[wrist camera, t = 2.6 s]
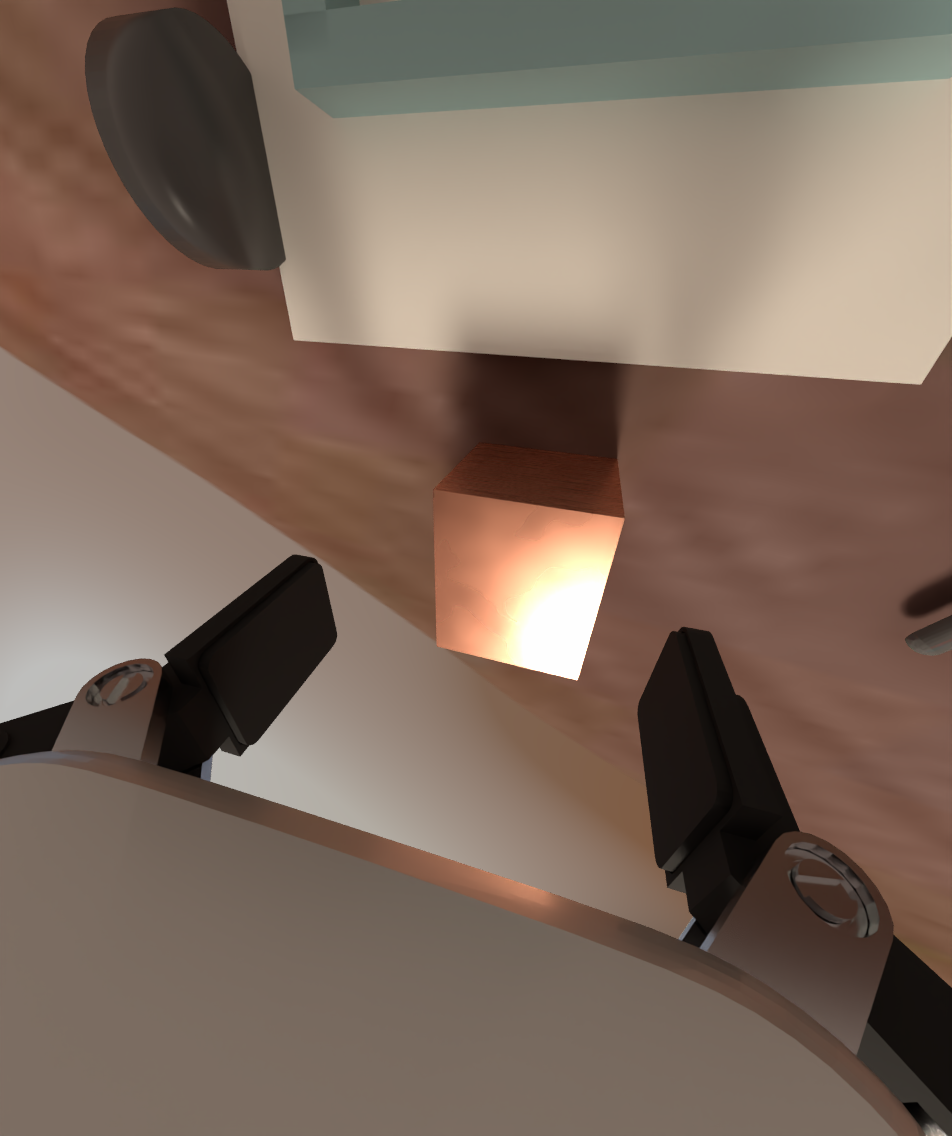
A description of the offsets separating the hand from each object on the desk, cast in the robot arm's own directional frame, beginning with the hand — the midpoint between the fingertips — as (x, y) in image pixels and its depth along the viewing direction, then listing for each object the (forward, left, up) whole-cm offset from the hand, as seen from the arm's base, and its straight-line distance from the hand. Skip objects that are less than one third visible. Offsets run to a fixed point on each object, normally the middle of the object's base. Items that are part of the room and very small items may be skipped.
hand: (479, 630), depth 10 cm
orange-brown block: (-1, 0, -7) cm, 7 cm away
